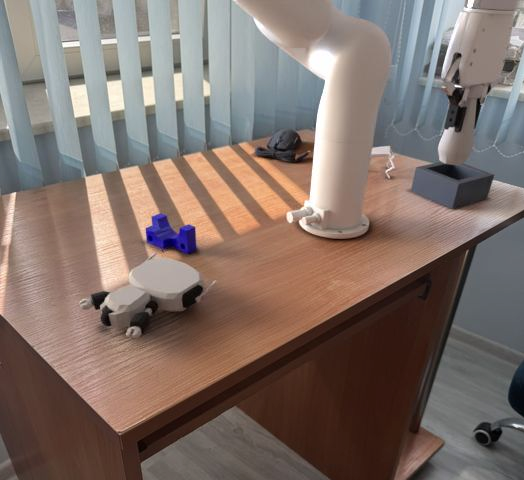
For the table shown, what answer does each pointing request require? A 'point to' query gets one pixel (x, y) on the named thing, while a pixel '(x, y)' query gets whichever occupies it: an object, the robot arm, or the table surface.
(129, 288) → the robot toy
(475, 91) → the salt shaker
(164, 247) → the cable holder
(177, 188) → the table surface
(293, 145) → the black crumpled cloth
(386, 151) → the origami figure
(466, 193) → the holder
